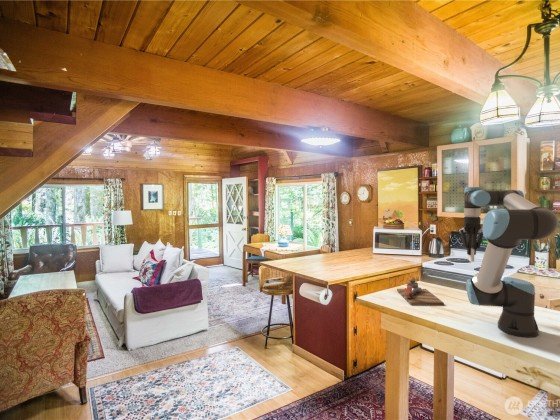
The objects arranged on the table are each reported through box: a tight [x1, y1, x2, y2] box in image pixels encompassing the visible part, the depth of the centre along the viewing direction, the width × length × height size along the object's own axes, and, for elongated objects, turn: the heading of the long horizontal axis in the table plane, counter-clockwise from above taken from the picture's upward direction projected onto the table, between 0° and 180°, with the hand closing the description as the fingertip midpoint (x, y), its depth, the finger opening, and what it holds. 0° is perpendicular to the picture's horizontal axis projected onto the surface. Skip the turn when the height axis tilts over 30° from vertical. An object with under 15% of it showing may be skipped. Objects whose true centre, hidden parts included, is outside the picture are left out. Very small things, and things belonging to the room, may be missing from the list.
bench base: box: [396, 276, 445, 306], centre depth 196 cm, size 26×18×10 cm
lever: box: [404, 285, 422, 298], centre depth 196 cm, size 20×6×7 cm, turn 141°
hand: (471, 261), depth 174 cm, fingers closed
